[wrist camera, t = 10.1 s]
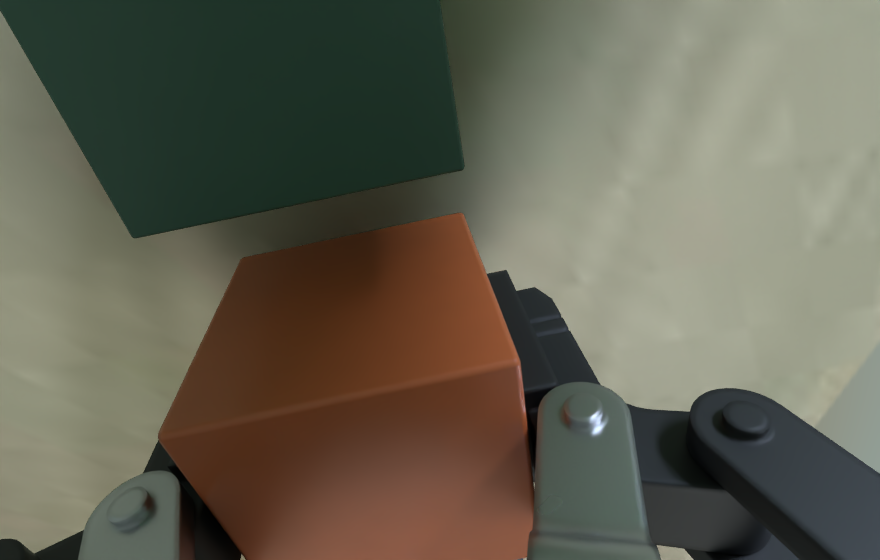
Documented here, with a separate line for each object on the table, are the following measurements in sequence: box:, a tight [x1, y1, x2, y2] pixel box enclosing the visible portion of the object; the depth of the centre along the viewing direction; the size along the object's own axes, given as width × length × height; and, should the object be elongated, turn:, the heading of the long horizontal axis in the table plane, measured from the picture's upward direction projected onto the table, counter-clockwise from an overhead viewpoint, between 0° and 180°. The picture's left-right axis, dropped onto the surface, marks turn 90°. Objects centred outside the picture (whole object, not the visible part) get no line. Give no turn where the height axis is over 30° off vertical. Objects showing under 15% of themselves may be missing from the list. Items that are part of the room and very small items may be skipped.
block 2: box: [158, 213, 534, 560], centre depth 9 cm, size 5×5×5 cm
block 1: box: [0, 0, 464, 238], centre depth 7 cm, size 5×5×5 cm
